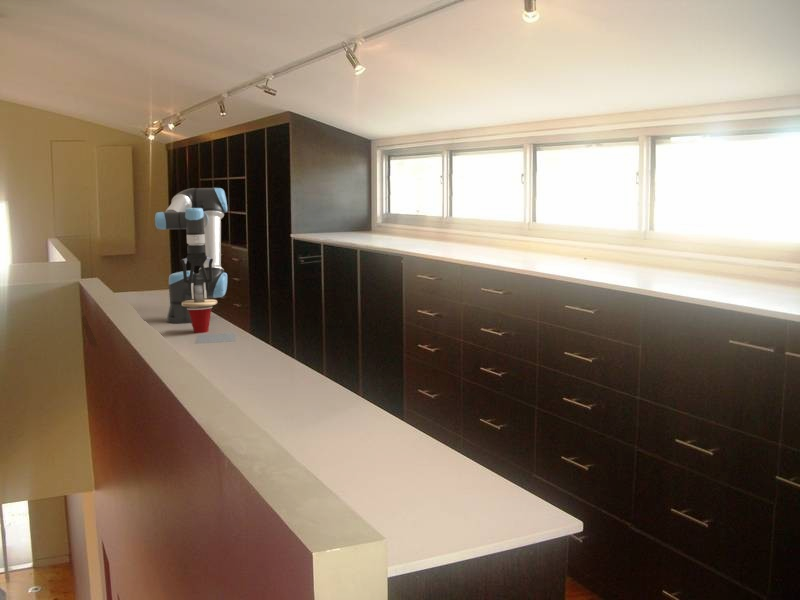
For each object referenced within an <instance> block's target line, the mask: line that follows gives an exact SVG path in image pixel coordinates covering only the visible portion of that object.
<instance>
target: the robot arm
mask: <svg viewBox="0 0 800 600" xmlns="http://www.w3.org/2000/svg"><path fill="white" fill-rule="evenodd" d="M170 202H171V203H170V205H169V206H168V207H167V209H166V210H165V211H160V212H158V211H157V212H156V213H155V216H154V223H155V227H156V229H157V230H165V231H166V230H186V244H187V245H186V247H187V249H186V250H187V256H186V257H185V258H182V259H181V260H180V263H181V265H182V271H176V272H174V273H171V274H169V276H168V290H169V291H168V292H169V293H168V294H169V308H168V312H167V315H166V321H167V323H169V324H170V323H173V324H186V323H192V322H191V318H190V314H189V311H188V309H187V308H190V307H185V306H182V302H183V301H187V300H194V289H193V286H195V285H204V298H205V299H216V298H217V299H218V298H223V297H224V296H225V295H226V293H227V289H228V274H227V272H225V269H224V268H223V267H222V263H221V262H222V247H221V246H222V243H221V242H222V221H221V220H222V219H223V218H224V216H225V213H227V212H228V204H227V203H228V202H227V196H226V192H225V190H224V189H223V188H221V187H199V188H198V187H197V188H196V187H192V188H191V187H190V188H187V189H183V190H182V191H179V192H178V193H176V194H175V195H173V197H172V198H171V201H170ZM188 262H189V264H190V270H187V263H188ZM195 267H199V269H198V273H195V272H194V271H195Z"/></svg>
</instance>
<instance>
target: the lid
mask: <svg viewBox="0 0 800 600" xmlns="http://www.w3.org/2000/svg"><path fill="white" fill-rule="evenodd" d="M193 289H194V300H187V301H183V302H182V306H185V307H205V306H212V307H213V306H216V305H217V304H218V300H217V299H215V298H204V285H195V286H193Z"/></svg>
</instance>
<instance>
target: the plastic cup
mask: <svg viewBox="0 0 800 600" xmlns="http://www.w3.org/2000/svg"><path fill="white" fill-rule="evenodd" d="M212 308H213V305H212V306H205V307H190V308H187V309H188V311H189V314H190V318H191V322H190V323H191V326H192V329H193V332H194V333H196V334H203V333H208V332H209V329H210V328H209V327H210V321H211V313H212Z"/></svg>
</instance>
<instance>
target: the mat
mask: <svg viewBox="0 0 800 600" xmlns="http://www.w3.org/2000/svg"><path fill="white" fill-rule="evenodd" d="M236 338H237V333H236V332H229V333H228V332H227V333H226V332H225V333H207V334H197V336H196V339H195V341H194V344H209V343H223V342H224V343H226V342H236V340H237V339H236Z"/></svg>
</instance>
